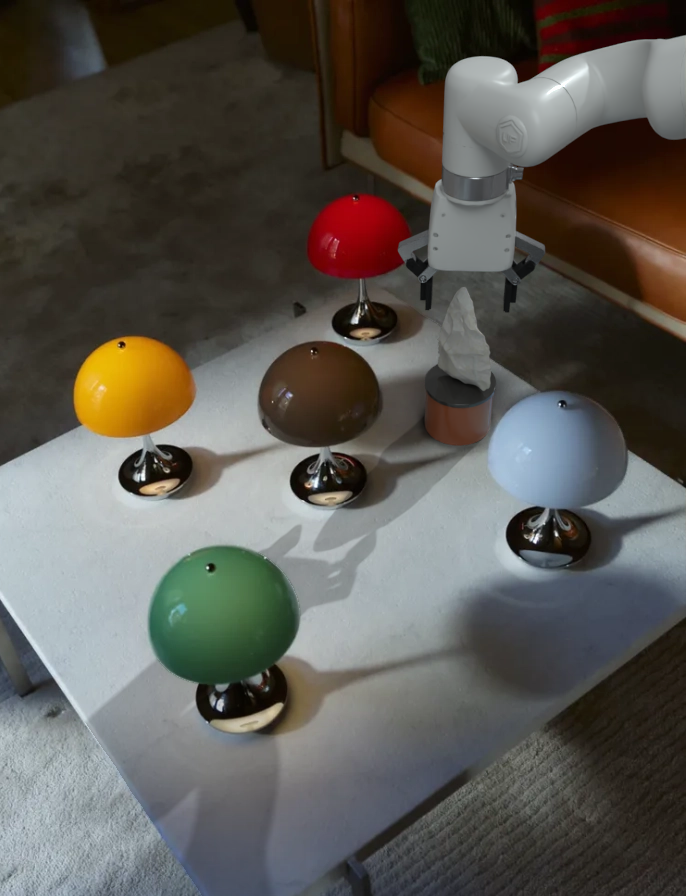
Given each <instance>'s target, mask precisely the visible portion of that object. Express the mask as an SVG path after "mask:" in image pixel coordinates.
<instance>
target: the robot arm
mask: <svg viewBox="0 0 686 896" xmlns="http://www.w3.org/2000/svg"><path fill="white" fill-rule="evenodd" d="M518 82H519V78H518V74H517V71H516V69H515V67H514V66H513V64H511V63H510V62H508V61H507V60H505V59H502V58H500V57H496V56H486V55H485V56H484V55H481V56H479V55H478V56H471V57H467V58H464V59H461V60H458V61H457V62H456V63H454V64H453V65H451V67H450V68H449V69H448V70H447V73H446V76H445V81H444V93H443V95H444V97H443V99H444V100H443V128H442V150H441V151H442V152H441V156H442V157H441V179H439V180H438V181H437V182H435V185H434V188H433V193H432V197H431V204H430V210H429V212H430V213H429V224H428V229H426V230H424V231H422V232H419V233H417V234H415V235H413V236H410V237H408V238H406V239H403V240H401V241H399V243H398V247H397V252H398V254H399V256H400V257H401V259H402V261H403V262H404V264H405V267H406V269H408V270H409V271H410V272H411V273H412V274H413V275H414V276H415V277H417V281H418V282H419V283H420V285H419V286H420V291H419V294H420V295H419V301H424V302H425V307H424V310H425V311H430V310H432V304H433V292H434V291H433V287H434V286H433V285H434V276H435V274H436V273H438V272H439V271H443V272H445V271H447V272H481V273H482V272H483V273H485V272H487V273H489V272H490V273H491V272H492V273H496V272H501V274H502V275H503V276H504V277H505V279H504V290H503V304H502V305H503V312H504V313H508V314H509V313H510V310H511V309H510V307H511V304H516V302H517V293H518V286H519V285H520V284H521V282H522V280H523V279H525V278H526V277H527V276H528V275H530V274H531V273H533V271H534V270H535V269H536V266H537V265H538V264H539V263H540V261H542V259H543V257H545V255H546V246H545V244H544V243H542V242H539V241H537V240H535V239H534V238H531V237H530V236H528V235H525V234H523V233H521V232H519V231H517V195H516V194H517V193H516V186H515V183H514V182H516V181H519V180H521V181H522V180H523V175H524V168H529V167H535V166H537V165H541V164H542V163H544V162H545V161H547V160H548V159H550V158H551V157H553V156H554V155H556V154H557V153H558V152H560V151H561V150H563V149H565V148H566V146H568V145H570V144H571V143H572V142H574V141H575V140H577V139H578V138H580V137H581V136H582V135H584V134H585V133H587V132H589V131H590V130H591V129H594V128H597V127H600V126H604V125H608V124H614V123H618V122H623V121H624V122H625V121H631V120H636V119H644V118H647V120H648V122H649V125H650V126H651V128H652V130H653V131H654V132H655V133H656V134H657V135H659V136H660V137H661V138H664V139H667V140H670V141H671V140H673V141H675V140H683V139H686V34H685V35H680V36H676V37H672V38H665V39H664V38H657V39H636V40H631V41H626V42H622V43H617V44H613V45H609V46H606V47H602V48H597V49H594V50H589V51H586V52H582V53H579V54H576V55H572V56H570V57H568V58H565V59H563V60H561V61H559V62H557V63H555V64H553V65H551V66H550V67H547V68H546V69H545V70H543V71H541V72H540V73H539V74H537V75H535V76H534V77H532V78H530V79H528V80H525V81H522V82H519V83H518ZM517 166H518V167H517ZM423 247H427V256H426V257H425V259H424V260H422V259H421V258H419V256H417V255H416V254H415V253H414V251H417V250H419V249H421V248H423ZM515 249H519V250H521V251H523V252H525V253H528V255H527V256H525V258H523V259H522V260H520V261H519V262H517V260H516V259H515V258H514V256H515Z"/></svg>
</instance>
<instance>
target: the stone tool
mask: <svg viewBox="0 0 686 896" xmlns="http://www.w3.org/2000/svg"><path fill="white" fill-rule="evenodd" d="M477 320H478V319H477V317H476V314H475V307H474V301H473V300H472V297H471V295H470V293H469V290H468V289H467V287H466V286H462V287H460V288H459V289H458V290H457V291H456V292H455V294H454V296H453V298H452V300H451V301H450V302H449V305H448V307H447V311H446V313H445V317H444V319H443V322H442V324H441V327H440V331H439V333H438V338H437V341H438V342H437V344H438V345H437V346H438V348H437V349H438V351H437V353H438V355H439V356H438V359H437V364H438V366H439V367H440V368H441V369H442V370H443V371H444V372H446V373H447V374H449V375H450V376H451V377H453V378H456V379H459V380H460V381H462V382H463V383H465V384H473V385H476V386H477V387H479V388H480V389H481V390H482V391H485V390H486V389H489V388H490V377H491V371H492V363H491V359H490V355H491V351H490V345H489V344H488V343H487V341H486V336H485V335H484V333H482V332H481V330H480V329H479V328H478V321H477Z"/></svg>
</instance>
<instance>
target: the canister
mask: <svg viewBox="0 0 686 896" xmlns="http://www.w3.org/2000/svg"><path fill="white" fill-rule="evenodd" d="M424 389H425V397H424V398H425V401H424V428H425V431H426V432H427V433H428V435H429V436H430V437H431V438H432V439H434V440H436V441H438V442H439V443H442V444H445V445H449V446H456V447H458V446H470V445H472V444H475V443H478V442H480V441H482V440H483V439H484V438H485V437H487V435H488V434H489V432H490V429H491V424H492V416H493V413H492V412H493V407H494V406H493V405H494V395H495V393H496V391H497V390H496V389H497V379H496V376H495V374H494V373H493V371H492V370H491V377H490V388H489V389H486V390H485V391H482V390H481V389H480V388H479V387H477V386H476V385H473V384H465V383H463V382H462V381H460V380H459V379H456V378H453V377H451V376H450V375H449V374H447V373H446V372H444V371H443V370H442V369H441V368H440V367H439V366H438V363H437V364H435V365H434V366H432V367H431V368H430V369H429V370H428V371H427V372H426V374H425V377H424Z"/></svg>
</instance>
